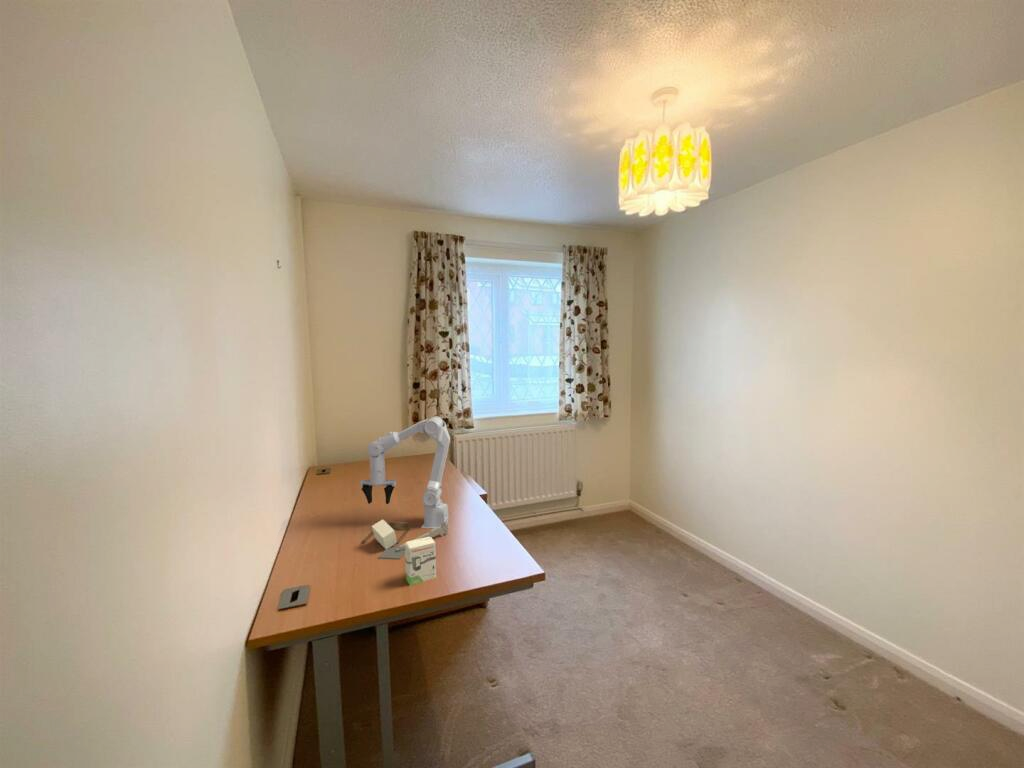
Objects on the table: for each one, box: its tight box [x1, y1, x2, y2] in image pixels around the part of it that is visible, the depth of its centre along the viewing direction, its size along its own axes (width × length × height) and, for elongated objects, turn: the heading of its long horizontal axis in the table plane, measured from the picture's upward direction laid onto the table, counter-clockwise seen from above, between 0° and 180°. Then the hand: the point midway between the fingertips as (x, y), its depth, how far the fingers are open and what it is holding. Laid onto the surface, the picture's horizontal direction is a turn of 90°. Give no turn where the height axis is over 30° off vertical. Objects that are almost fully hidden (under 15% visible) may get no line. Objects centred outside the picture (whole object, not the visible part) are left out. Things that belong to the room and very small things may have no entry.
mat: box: [377, 545, 405, 560], centre depth 142 cm, size 8×9×1 cm
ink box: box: [404, 537, 437, 586], centre depth 126 cm, size 9×5×12 cm, turn 119°
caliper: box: [396, 522, 449, 551], centre depth 148 cm, size 20×1×6 cm, turn 129°
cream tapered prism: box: [371, 518, 398, 550], centre depth 146 cm, size 4×6×8 cm
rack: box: [361, 521, 411, 545], centre depth 155 cm, size 14×12×4 cm
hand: (378, 503), depth 164 cm, fingers open, 7 cm apart
